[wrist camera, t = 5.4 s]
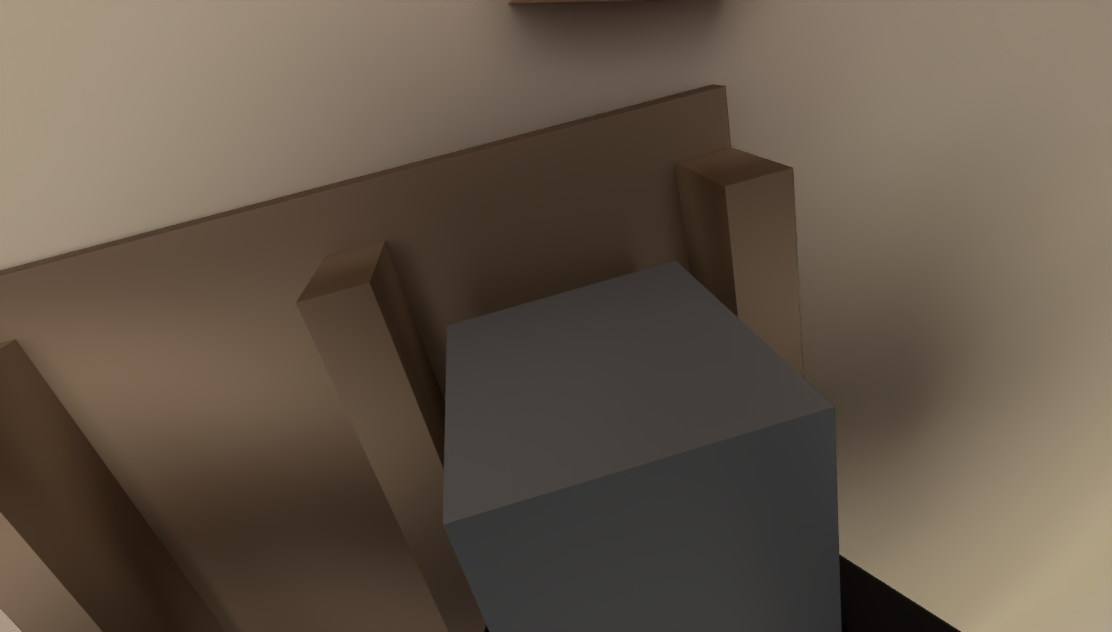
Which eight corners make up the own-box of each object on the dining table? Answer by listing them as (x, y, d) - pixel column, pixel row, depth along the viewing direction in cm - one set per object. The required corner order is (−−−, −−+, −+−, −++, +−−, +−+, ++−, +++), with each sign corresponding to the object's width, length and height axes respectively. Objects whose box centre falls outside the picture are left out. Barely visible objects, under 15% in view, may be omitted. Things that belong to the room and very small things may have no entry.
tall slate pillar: (446, 325, 9) (442, 524, 5) (676, 259, 9) (835, 407, 5) (579, 694, 12) (630, 956, 9) (735, 644, 13) (849, 882, 9)
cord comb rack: (-66, 287, 9) (-233, 362, 7) (713, 84, 10) (789, 92, 8) (280, 748, 15) (250, 872, 13) (765, 597, 16) (818, 689, 13)
